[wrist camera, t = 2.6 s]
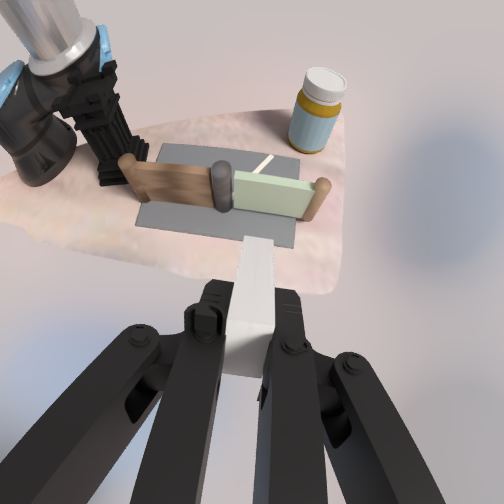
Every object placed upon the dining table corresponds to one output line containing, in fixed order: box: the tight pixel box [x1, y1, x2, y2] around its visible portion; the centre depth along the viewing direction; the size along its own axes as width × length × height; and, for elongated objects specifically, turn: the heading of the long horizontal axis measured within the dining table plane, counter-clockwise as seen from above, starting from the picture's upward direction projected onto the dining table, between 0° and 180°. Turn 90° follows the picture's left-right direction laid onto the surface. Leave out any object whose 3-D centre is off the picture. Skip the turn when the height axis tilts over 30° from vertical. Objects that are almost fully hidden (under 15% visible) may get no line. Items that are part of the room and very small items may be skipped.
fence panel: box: [234, 170, 332, 222], centre depth 36 cm, size 12×2×9 cm, turn 82°
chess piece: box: [51, 60, 149, 187], centre depth 34 cm, size 8×8×20 cm
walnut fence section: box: [118, 153, 232, 213], centre depth 37 cm, size 15×2×10 cm, turn 82°
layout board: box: [136, 143, 300, 249], centre depth 43 cm, size 24×16×1 cm, turn 82°
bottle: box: [288, 67, 347, 153], centre depth 40 cm, size 7×7×15 cm
